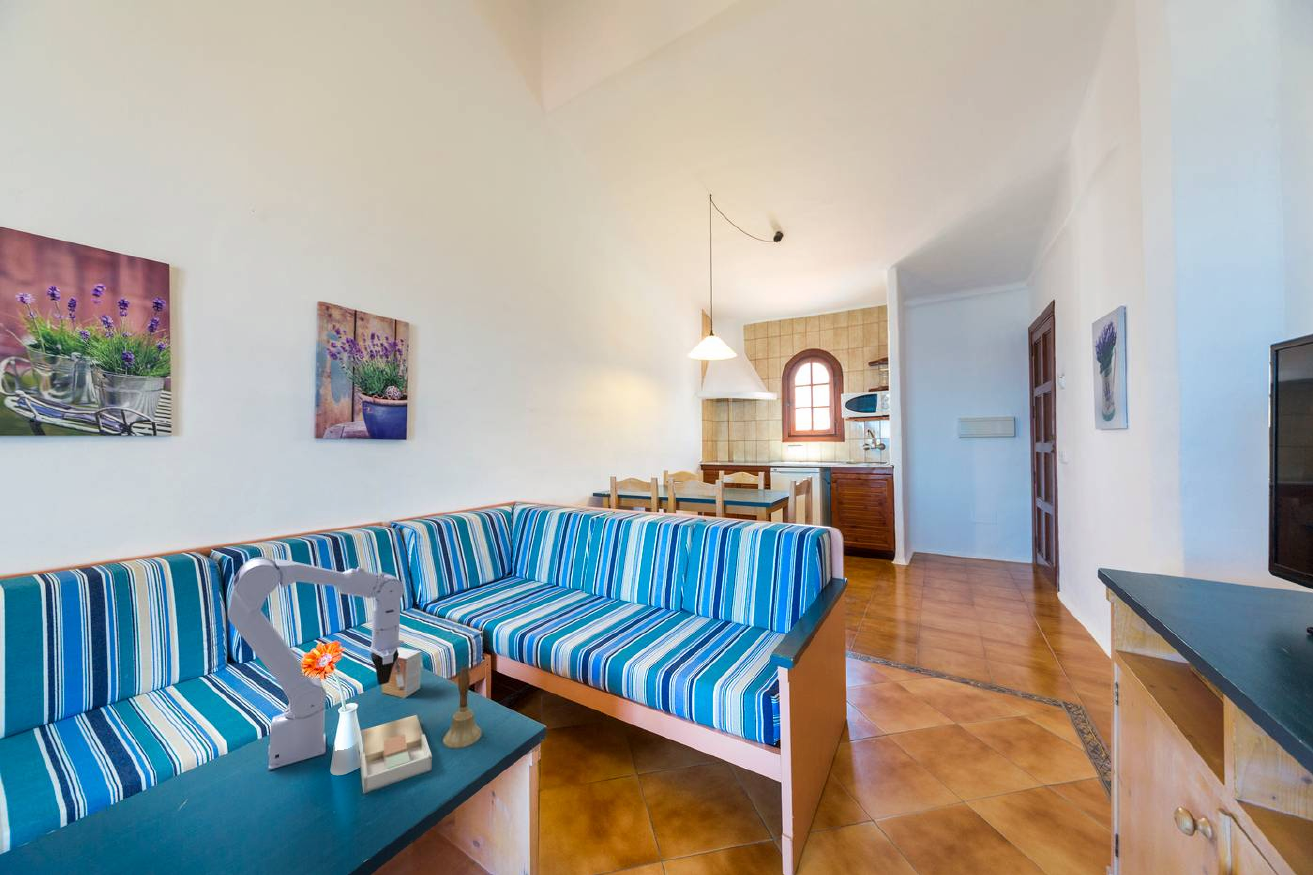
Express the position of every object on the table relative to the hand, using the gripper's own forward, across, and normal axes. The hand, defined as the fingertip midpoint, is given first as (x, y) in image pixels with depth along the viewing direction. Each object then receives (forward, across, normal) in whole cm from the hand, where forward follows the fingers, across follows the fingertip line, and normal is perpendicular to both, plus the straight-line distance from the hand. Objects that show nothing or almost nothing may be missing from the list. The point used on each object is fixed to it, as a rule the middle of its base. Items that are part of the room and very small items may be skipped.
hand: (383, 682), depth 111 cm
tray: (+10, -20, -1) cm, 22 cm away
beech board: (+10, -10, -1) cm, 14 cm away
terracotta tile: (+8, -17, -1) cm, 19 cm away
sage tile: (+9, -21, -1) cm, 23 cm away
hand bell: (+10, -16, -15) cm, 24 cm away
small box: (+10, +15, -6) cm, 19 cm away
